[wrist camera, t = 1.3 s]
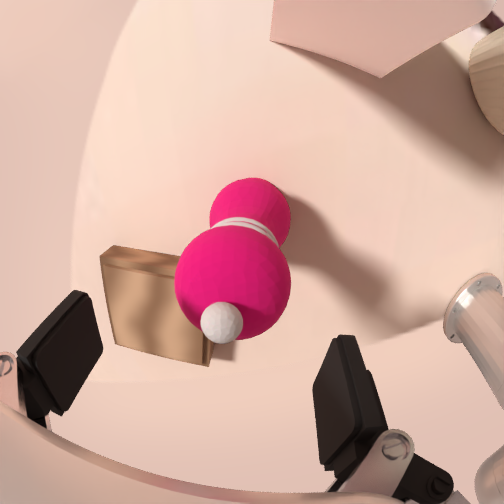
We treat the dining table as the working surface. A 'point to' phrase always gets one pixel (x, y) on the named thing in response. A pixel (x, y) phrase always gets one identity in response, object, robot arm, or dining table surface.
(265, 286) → the pepper mill
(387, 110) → the dining table surface
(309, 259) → the dining table surface
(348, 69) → the dining table surface
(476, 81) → the canister
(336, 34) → the milk
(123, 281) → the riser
